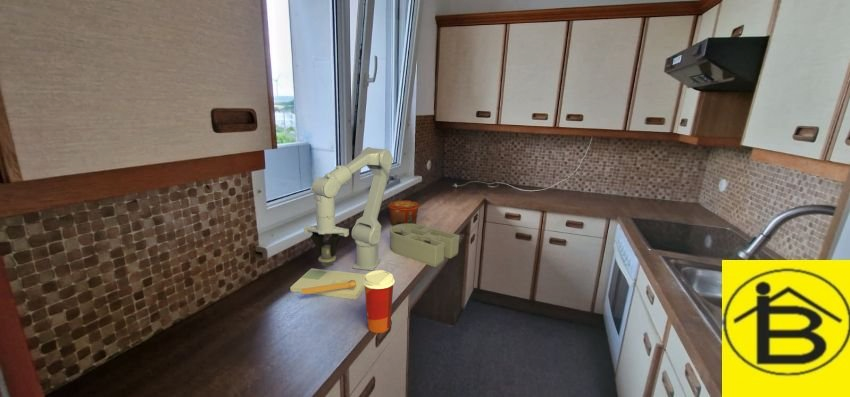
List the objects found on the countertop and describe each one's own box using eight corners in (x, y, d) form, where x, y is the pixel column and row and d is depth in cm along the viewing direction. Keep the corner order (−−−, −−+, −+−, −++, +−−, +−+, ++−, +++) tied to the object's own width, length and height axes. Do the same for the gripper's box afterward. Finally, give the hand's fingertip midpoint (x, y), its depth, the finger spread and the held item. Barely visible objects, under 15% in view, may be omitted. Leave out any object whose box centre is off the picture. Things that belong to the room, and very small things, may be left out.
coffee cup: (379, 314, 102) (379, 266, 98) (400, 326, 96) (401, 275, 93) (357, 327, 95) (356, 276, 92) (378, 340, 90) (377, 287, 86)
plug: (322, 259, 119) (322, 243, 118) (338, 261, 119) (338, 244, 117) (315, 266, 114) (315, 249, 112) (332, 268, 113) (331, 250, 112)
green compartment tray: (435, 268, 133) (436, 247, 130) (381, 249, 149) (381, 230, 147) (458, 255, 145) (460, 235, 143) (406, 239, 162) (407, 221, 160)
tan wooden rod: (301, 291, 107) (301, 287, 107) (355, 283, 113) (355, 279, 113) (302, 295, 105) (302, 291, 105) (356, 287, 111) (356, 283, 111)
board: (311, 272, 126) (311, 266, 125) (370, 278, 122) (370, 272, 122) (290, 291, 113) (290, 284, 112) (356, 299, 109) (356, 292, 108)
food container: (421, 220, 189) (421, 200, 186) (416, 229, 174) (416, 208, 171) (391, 218, 191) (392, 199, 188) (384, 227, 176) (384, 206, 173)
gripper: (298, 217, 110) (300, 257, 113) (342, 220, 107) (343, 261, 111) (308, 210, 116) (310, 249, 120) (350, 214, 114) (351, 253, 118)
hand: (327, 254), depth 116 cm, fingers closed on plug, 4 cm apart
